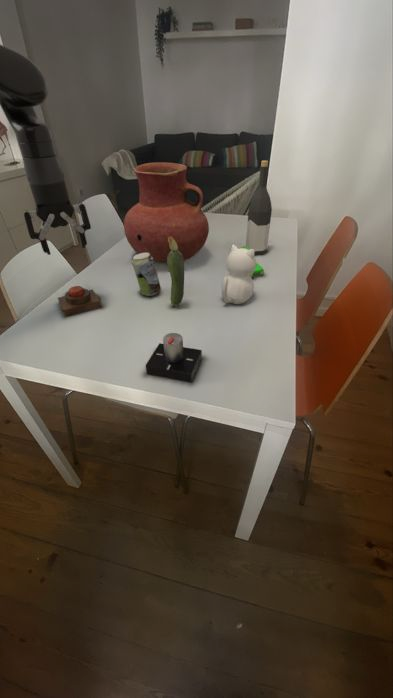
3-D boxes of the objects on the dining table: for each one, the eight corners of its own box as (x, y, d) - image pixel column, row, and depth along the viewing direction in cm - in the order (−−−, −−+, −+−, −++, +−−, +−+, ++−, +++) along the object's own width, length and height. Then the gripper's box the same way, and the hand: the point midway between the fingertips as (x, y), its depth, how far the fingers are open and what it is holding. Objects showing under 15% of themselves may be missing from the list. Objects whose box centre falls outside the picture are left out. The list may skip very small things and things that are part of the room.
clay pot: (118, 272, 108) (99, 173, 90) (141, 242, 131) (130, 158, 113) (203, 276, 105) (203, 173, 86) (212, 244, 128) (213, 158, 109)
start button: (72, 298, 87) (70, 293, 86) (69, 293, 89) (67, 287, 88) (85, 295, 88) (83, 289, 87) (82, 290, 91) (80, 284, 90)
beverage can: (160, 297, 94) (156, 258, 86) (135, 298, 94) (129, 259, 87) (162, 288, 99) (158, 250, 91) (138, 288, 99) (133, 250, 92)
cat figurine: (259, 295, 94) (265, 245, 84) (237, 313, 86) (241, 260, 77) (233, 287, 98) (236, 239, 89) (210, 304, 90) (210, 252, 81)
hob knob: (168, 350, 70) (167, 330, 67) (186, 353, 69) (185, 333, 66) (162, 361, 67) (159, 341, 64) (180, 364, 66) (178, 344, 63)
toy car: (228, 268, 110) (229, 249, 105) (244, 263, 112) (246, 245, 108) (247, 280, 102) (249, 260, 98) (264, 275, 104) (267, 256, 100)
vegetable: (182, 301, 92) (178, 231, 80) (188, 308, 89) (186, 236, 76) (168, 305, 90) (162, 234, 78) (174, 312, 87) (169, 239, 75)
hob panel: (146, 374, 67) (145, 365, 66) (160, 351, 74) (159, 342, 72) (191, 383, 65) (191, 373, 64) (202, 358, 71) (201, 349, 70)
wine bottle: (271, 252, 120) (282, 161, 101) (254, 257, 117) (263, 163, 98) (257, 246, 125) (266, 158, 107) (241, 250, 122) (247, 160, 104)
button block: (65, 317, 86) (61, 304, 84) (59, 304, 92) (55, 291, 89) (101, 307, 90) (98, 294, 88) (94, 295, 96) (91, 283, 93)
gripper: (75, 173, 76) (90, 240, 86) (10, 180, 71) (34, 251, 81) (82, 178, 71) (97, 249, 81) (12, 186, 66) (38, 261, 76)
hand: (66, 250), depth 81 cm, fingers open, 8 cm apart
